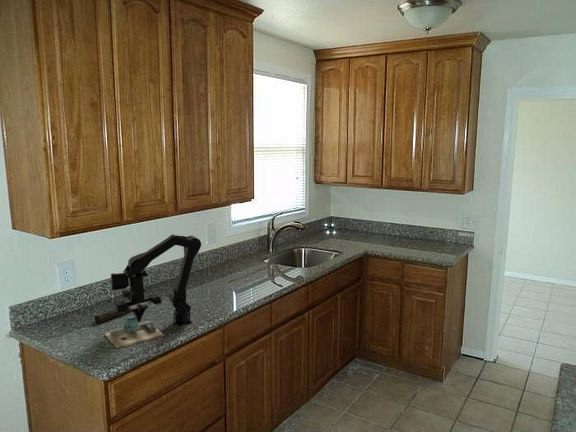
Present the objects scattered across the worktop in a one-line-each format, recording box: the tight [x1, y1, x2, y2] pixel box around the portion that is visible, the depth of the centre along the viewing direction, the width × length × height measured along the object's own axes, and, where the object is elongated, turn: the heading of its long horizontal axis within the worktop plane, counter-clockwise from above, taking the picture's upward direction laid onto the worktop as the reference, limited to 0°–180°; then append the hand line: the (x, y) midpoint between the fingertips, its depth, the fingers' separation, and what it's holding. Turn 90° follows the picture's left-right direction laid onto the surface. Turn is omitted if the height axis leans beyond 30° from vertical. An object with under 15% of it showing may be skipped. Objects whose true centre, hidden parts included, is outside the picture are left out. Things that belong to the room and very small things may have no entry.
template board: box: [104, 327, 164, 349], centre depth 187 cm, size 19×15×1 cm
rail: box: [108, 320, 152, 337], centre depth 190 cm, size 17×2×2 cm, turn 128°
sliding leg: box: [123, 315, 139, 335], centre depth 188 cm, size 4×9×5 cm, turn 38°
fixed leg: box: [145, 322, 157, 333], centre depth 191 cm, size 2×6×4 cm, turn 38°
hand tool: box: [94, 307, 133, 325], centre depth 206 cm, size 19×4×5 cm, turn 143°
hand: (138, 322), depth 192 cm, fingers closed
